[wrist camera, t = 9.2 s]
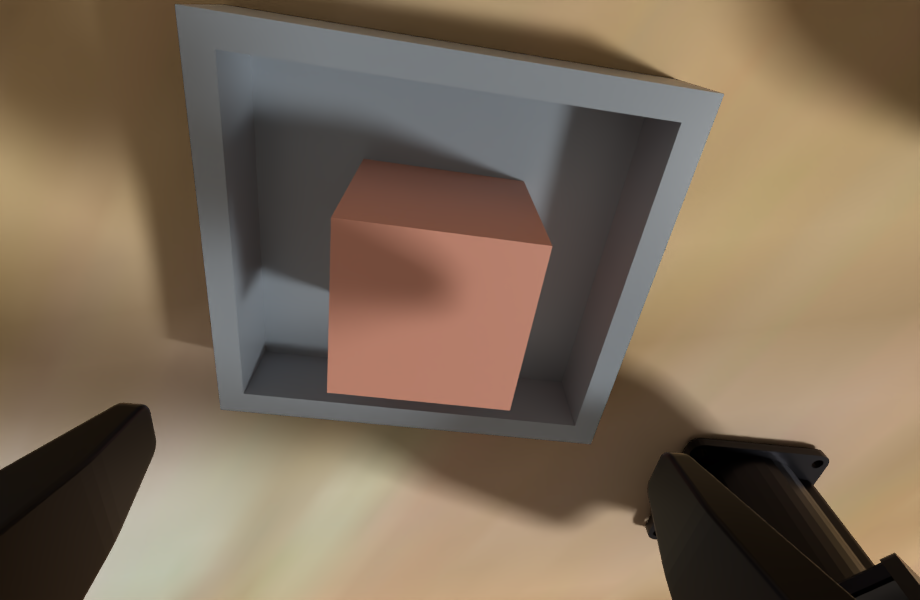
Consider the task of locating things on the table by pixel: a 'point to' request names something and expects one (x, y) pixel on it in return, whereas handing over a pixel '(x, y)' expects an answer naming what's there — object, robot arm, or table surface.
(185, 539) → the table surface
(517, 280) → the red block
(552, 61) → the tray
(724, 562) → the robot arm
